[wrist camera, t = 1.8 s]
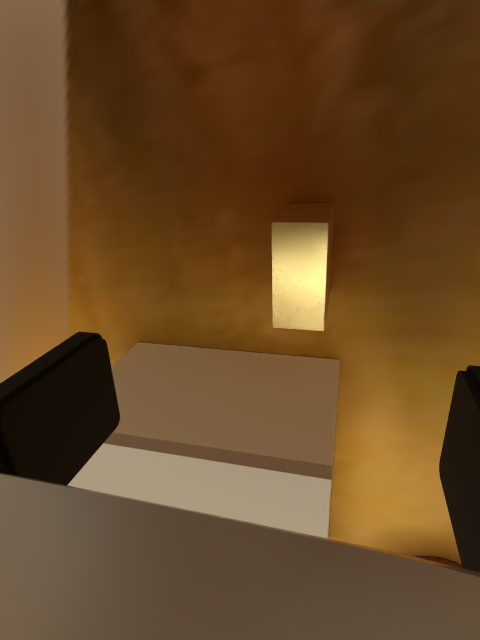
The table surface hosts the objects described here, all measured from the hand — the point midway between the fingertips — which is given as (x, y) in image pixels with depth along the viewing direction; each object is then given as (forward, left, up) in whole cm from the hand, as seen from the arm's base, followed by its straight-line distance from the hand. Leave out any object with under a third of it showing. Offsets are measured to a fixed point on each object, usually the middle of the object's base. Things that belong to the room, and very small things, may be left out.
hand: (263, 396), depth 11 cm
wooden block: (-1, 0, -14) cm, 14 cm away
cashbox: (+14, -5, -14) cm, 21 cm away
